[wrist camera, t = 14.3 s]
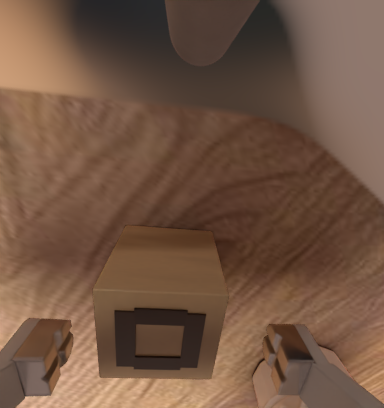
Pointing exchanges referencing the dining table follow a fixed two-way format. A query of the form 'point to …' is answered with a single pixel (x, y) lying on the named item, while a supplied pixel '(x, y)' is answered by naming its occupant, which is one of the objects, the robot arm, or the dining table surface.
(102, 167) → the dining table surface
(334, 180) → the dining table surface
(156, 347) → the tile
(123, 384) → the dining table surface
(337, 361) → the white cup
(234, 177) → the dining table surface
